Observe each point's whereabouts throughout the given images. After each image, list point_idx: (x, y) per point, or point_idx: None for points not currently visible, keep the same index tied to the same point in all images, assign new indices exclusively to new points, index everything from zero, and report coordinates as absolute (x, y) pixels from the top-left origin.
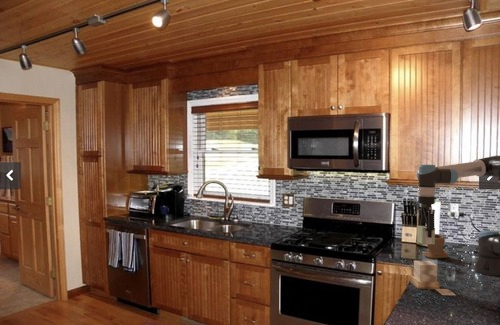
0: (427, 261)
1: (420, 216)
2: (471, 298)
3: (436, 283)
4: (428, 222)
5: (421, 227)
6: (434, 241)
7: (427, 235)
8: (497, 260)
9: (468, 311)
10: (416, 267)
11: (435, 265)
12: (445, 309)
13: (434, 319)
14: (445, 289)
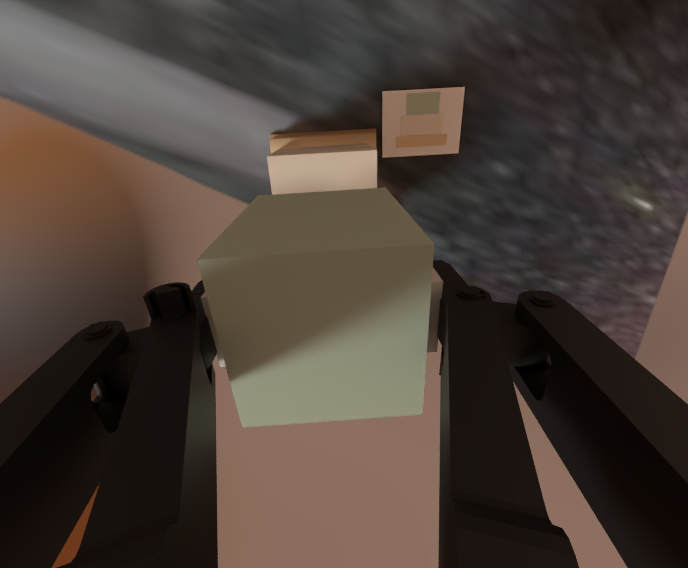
0: (285, 180)
1: (41, 551)
2: (507, 19)
3: (375, 148)
4: (572, 456)
5: (388, 415)
6: (391, 196)
7: None
8: None
9: (639, 122)
10: None
11: (376, 160)
12: (599, 205)
13: (660, 270)
14: (388, 107)
